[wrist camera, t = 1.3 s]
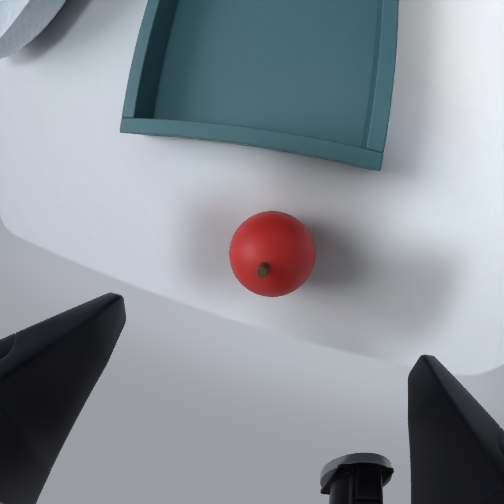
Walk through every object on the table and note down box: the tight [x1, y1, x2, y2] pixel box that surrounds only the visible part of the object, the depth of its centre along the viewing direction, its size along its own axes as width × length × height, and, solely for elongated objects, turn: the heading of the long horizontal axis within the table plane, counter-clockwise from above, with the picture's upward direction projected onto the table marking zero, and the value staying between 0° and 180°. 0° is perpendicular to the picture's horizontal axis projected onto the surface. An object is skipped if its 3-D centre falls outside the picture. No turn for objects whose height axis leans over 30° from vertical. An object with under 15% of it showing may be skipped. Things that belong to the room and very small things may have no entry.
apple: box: [229, 211, 315, 297], centre depth 18 cm, size 5×5×6 cm
